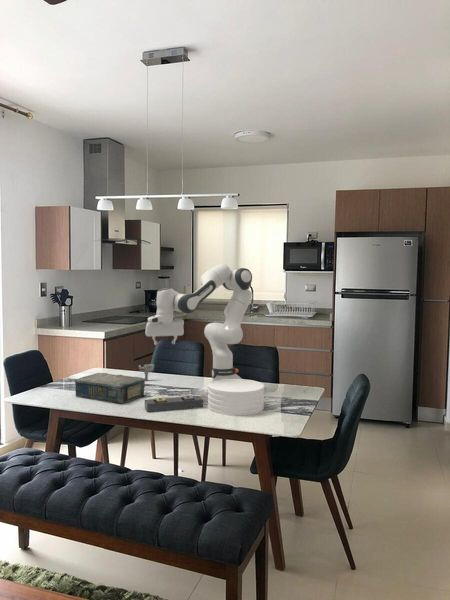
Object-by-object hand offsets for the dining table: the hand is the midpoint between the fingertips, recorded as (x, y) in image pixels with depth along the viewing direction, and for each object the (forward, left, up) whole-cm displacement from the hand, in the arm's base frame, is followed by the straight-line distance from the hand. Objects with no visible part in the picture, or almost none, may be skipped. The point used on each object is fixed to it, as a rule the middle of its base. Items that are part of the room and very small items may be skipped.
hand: (164, 344), depth 258 cm
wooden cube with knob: (+6, +18, -29) cm, 35 cm away
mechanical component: (+2, -44, -29) cm, 53 cm away
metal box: (+27, -14, -30) cm, 42 cm away
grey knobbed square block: (-8, +18, -29) cm, 35 cm away
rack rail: (-1, +18, -29) cm, 34 cm away
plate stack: (-31, +26, -30) cm, 50 cm away
